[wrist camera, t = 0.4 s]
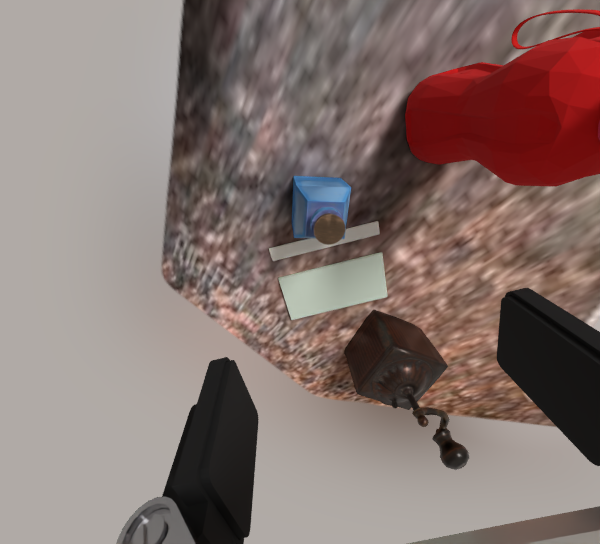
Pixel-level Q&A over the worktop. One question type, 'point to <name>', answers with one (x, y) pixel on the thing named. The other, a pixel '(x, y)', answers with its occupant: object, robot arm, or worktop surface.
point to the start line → (314, 244)
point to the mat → (334, 286)
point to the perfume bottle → (320, 208)
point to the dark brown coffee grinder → (401, 373)
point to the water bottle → (516, 112)
